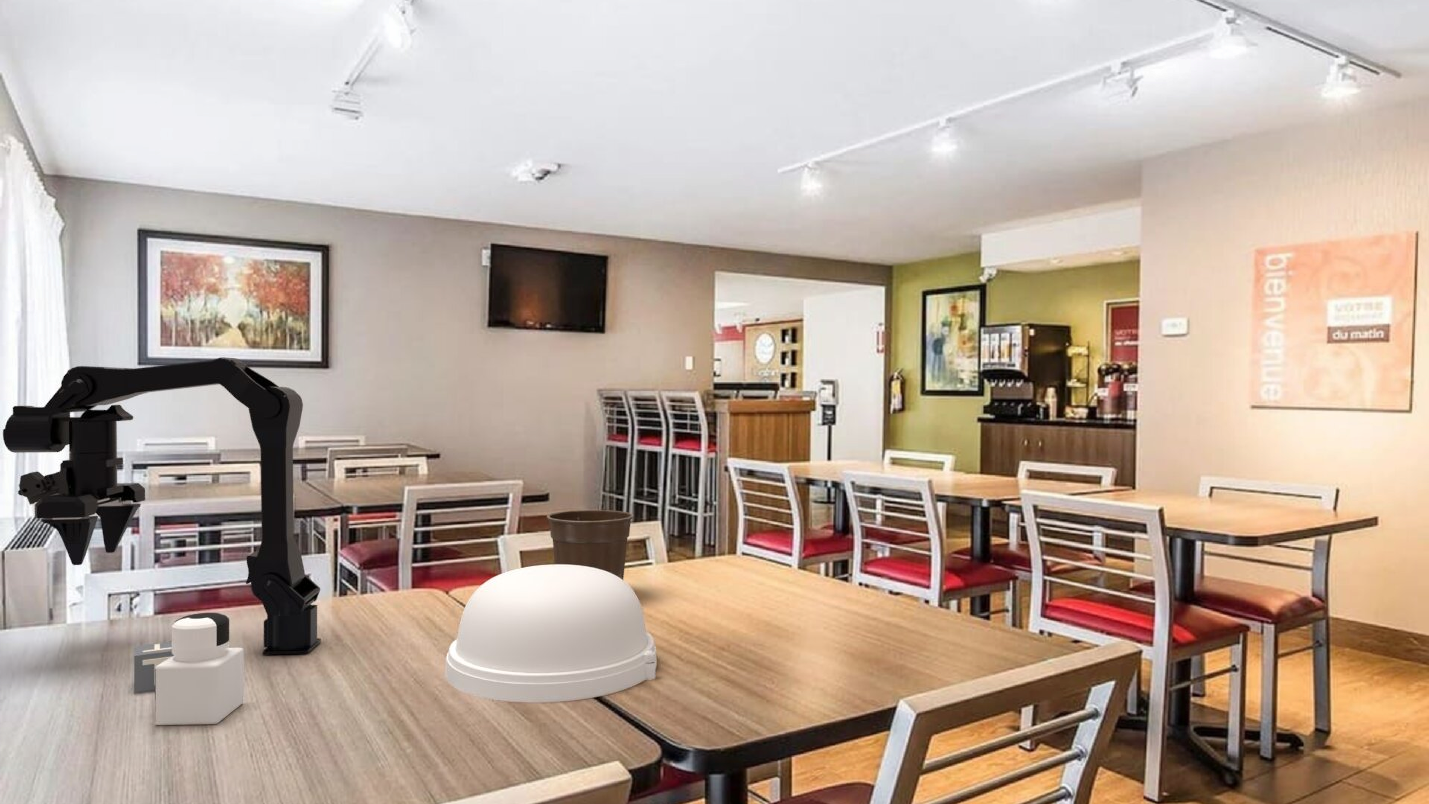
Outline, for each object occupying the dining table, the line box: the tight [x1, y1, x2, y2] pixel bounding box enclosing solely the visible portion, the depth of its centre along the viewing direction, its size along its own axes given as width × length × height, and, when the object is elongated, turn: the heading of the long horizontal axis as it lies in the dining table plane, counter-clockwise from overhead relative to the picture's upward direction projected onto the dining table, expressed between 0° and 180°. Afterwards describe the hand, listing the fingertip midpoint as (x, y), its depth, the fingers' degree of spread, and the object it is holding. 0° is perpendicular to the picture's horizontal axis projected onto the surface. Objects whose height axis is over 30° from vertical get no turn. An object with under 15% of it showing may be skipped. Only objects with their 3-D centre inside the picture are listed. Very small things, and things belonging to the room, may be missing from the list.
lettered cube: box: [133, 641, 174, 695], centre depth 116 cm, size 5×5×5 cm
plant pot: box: [546, 509, 634, 580], centre depth 166 cm, size 16×16×16 cm
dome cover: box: [444, 563, 658, 704], centre depth 126 cm, size 32×30×14 cm
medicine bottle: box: [154, 612, 245, 726], centre depth 106 cm, size 7×7×12 cm
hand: (94, 558), depth 128 cm, fingers open, 9 cm apart
